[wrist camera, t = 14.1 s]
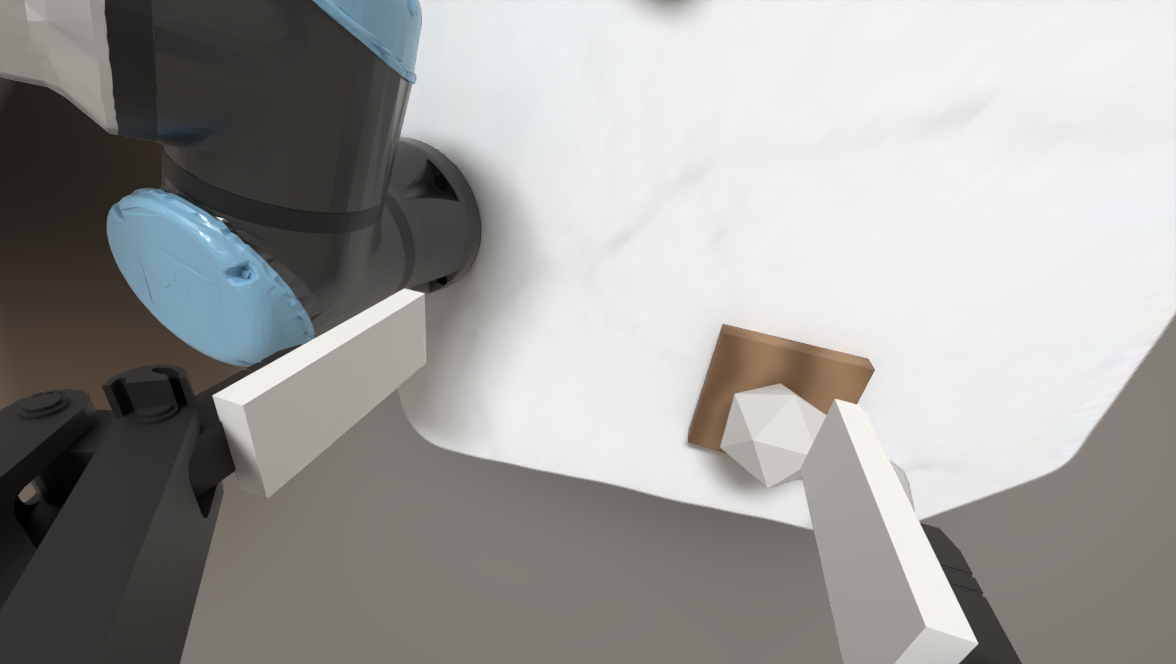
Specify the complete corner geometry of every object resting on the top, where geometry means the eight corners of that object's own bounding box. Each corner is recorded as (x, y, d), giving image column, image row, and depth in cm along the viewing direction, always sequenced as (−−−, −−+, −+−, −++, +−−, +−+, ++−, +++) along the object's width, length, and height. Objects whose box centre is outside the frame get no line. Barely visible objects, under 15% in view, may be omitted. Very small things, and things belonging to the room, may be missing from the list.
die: (761, 455, 46) (842, 507, 37) (691, 450, 43) (762, 505, 34) (783, 378, 45) (872, 413, 36) (713, 367, 42) (792, 402, 33)
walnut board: (688, 430, 49) (687, 442, 47) (723, 324, 43) (723, 332, 41) (813, 465, 47) (817, 479, 45) (868, 358, 41) (874, 369, 39)
